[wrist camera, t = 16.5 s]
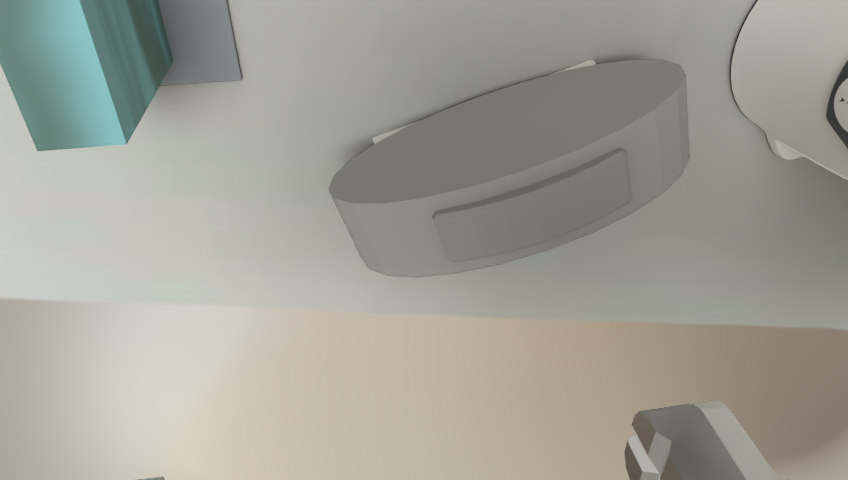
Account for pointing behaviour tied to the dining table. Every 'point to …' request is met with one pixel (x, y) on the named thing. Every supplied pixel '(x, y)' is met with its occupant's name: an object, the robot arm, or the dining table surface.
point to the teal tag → (83, 67)
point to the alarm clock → (517, 169)
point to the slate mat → (199, 42)
